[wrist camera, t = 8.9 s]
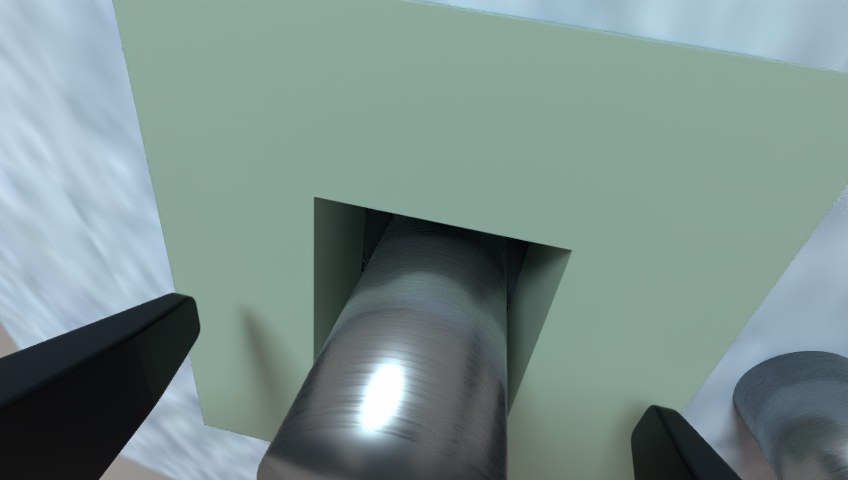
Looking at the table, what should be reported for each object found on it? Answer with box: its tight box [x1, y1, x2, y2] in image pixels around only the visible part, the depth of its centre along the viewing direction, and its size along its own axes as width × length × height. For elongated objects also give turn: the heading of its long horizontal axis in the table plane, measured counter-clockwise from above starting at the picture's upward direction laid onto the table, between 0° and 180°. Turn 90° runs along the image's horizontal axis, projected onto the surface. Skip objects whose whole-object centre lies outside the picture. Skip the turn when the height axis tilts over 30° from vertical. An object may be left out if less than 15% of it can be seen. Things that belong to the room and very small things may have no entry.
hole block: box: [112, 0, 848, 480], centre depth 11 cm, size 12×12×4 cm
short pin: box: [733, 351, 848, 480], centre depth 11 cm, size 4×4×4 cm
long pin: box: [257, 214, 508, 480], centre depth 9 cm, size 4×4×8 cm
